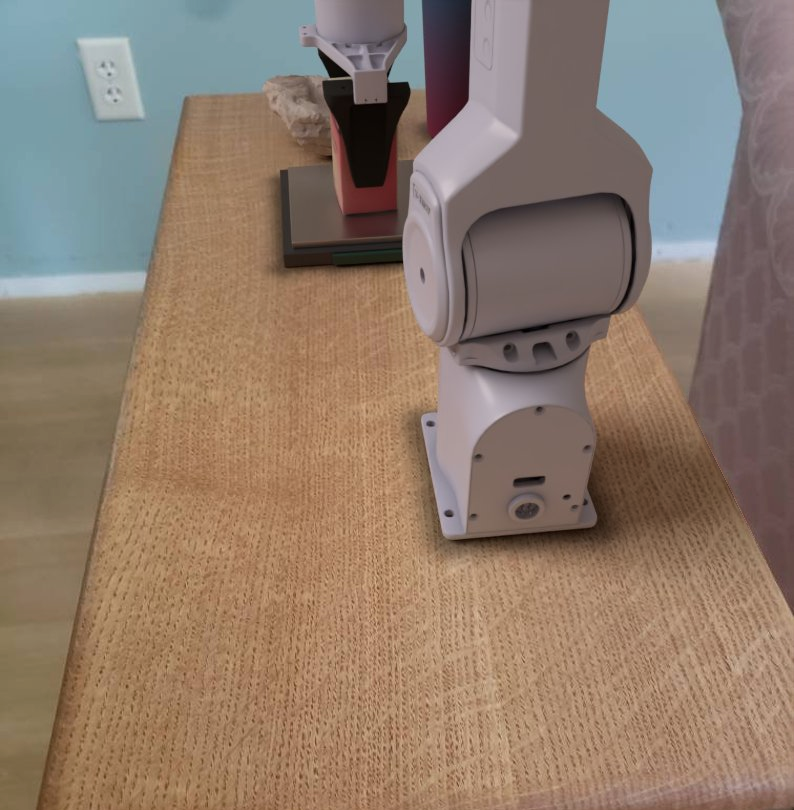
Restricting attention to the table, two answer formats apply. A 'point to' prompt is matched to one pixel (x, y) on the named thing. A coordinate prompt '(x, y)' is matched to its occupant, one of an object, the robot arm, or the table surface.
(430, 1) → the cup
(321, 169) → the scale
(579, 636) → the table surface
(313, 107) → the fossil
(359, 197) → the small box
